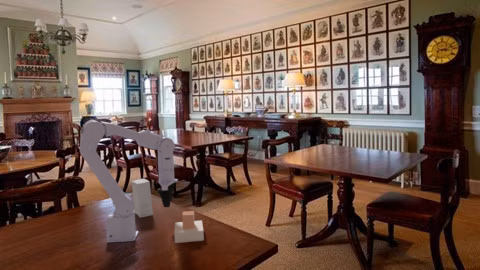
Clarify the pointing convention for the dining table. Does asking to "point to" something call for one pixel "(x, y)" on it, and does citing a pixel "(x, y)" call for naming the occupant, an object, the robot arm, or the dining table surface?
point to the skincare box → (142, 197)
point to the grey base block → (189, 232)
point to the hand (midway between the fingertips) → (167, 203)
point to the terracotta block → (188, 219)
